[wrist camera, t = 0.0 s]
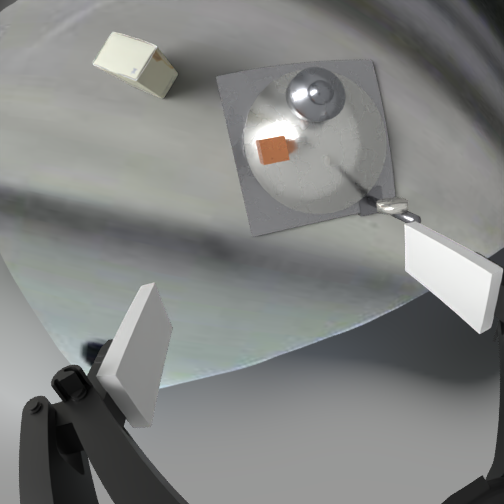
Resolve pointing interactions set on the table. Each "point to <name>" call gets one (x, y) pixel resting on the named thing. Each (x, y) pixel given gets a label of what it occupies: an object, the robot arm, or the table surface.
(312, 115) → the cover
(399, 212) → the post
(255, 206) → the turntable base
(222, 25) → the table surface
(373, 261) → the table surface
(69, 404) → the robot arm
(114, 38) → the skincare box
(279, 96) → the platter
